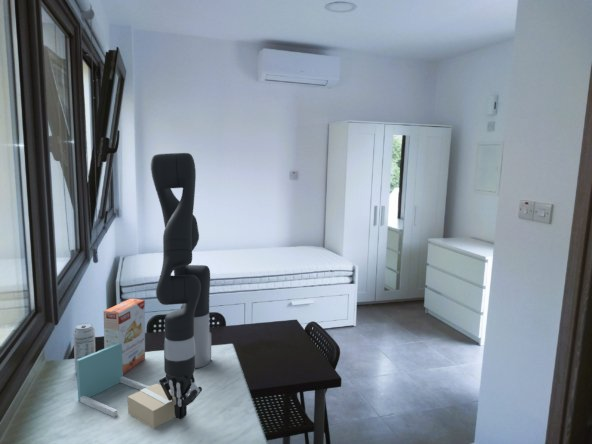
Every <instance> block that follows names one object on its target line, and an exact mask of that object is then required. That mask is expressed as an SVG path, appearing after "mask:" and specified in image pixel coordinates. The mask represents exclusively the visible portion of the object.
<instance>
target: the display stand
mask: <svg viewBox="0 0 592 444" xmlns="http://www.w3.org/2000/svg"><path fill="white" fill-rule="evenodd" d="M76 361H77V372H76V380H77V401H78V402H79V403H82V404H84V405H86V406H88V407H90V408H92V409H95V410H97V411H99V412H102V413H104V414H106V415H109V416H111V417H113V418H115V417H117V416H118V409H116V408H113V407H111V406H109V405H107V404H105V403H102V402H99V401H97V400H96V399H93V398H92V397H94V396H96V395H98V394H99V393H102V392H104V391H105V390H107V389H110V388H112V387H114V386H115V385H118V384H120V383H121V384H124V385H126V386H129V387H131V388H134V389H137V390H138V391H140V390H142V389H144V388H147V387H150V386H151V385H150V386H149V385H147V384H145V383H141V382H139V381H136V380H133V379H131V378H129V377H126V376H124V374H123V367H122V343H117V344H115V345H112V346H110V347H107V348H105V349H104V348H102V349H99V350H98V351H95V353H92V354H90V355H87V356H85V357H82V358H80V359H78V360H76Z"/></svg>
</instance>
